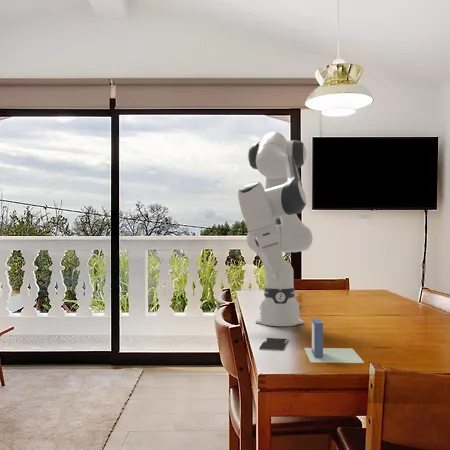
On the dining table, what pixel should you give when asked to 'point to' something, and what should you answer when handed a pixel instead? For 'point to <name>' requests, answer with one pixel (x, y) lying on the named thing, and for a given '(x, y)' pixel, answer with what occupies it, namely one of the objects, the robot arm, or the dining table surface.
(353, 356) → the mat
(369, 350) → the dining table surface
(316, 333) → the box
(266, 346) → the smartphone
